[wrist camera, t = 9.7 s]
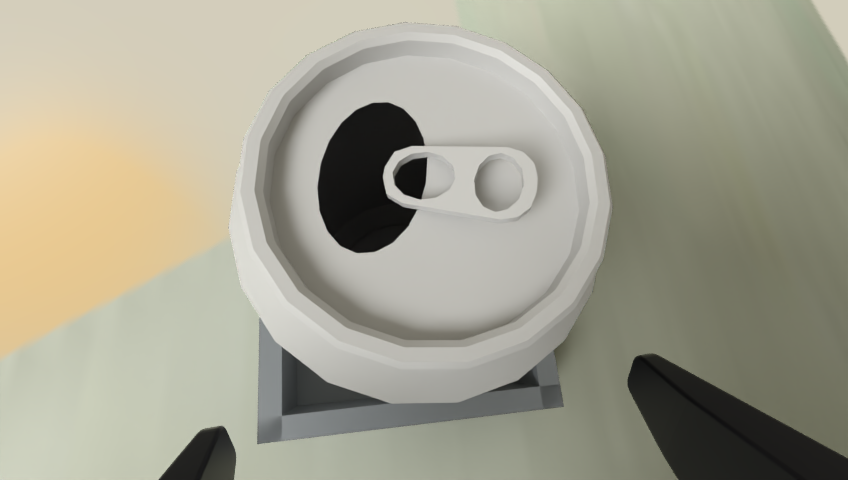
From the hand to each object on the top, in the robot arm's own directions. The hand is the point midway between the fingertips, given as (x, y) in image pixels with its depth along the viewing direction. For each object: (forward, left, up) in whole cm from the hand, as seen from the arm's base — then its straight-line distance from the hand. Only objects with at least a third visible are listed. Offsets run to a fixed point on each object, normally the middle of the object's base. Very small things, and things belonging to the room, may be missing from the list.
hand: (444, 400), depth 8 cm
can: (+4, 0, -9) cm, 10 cm away
